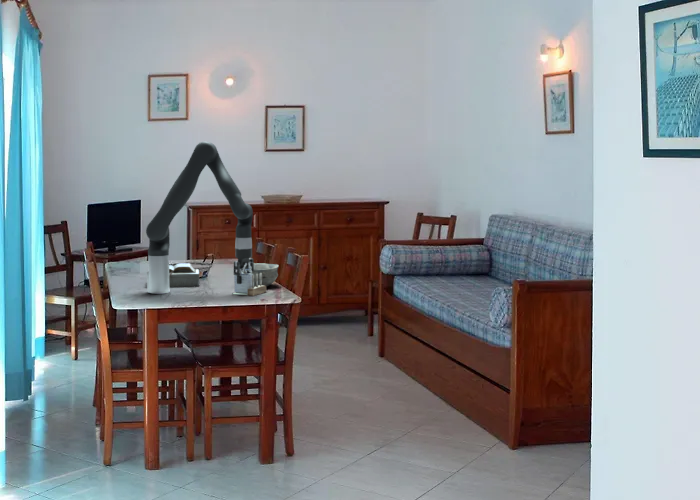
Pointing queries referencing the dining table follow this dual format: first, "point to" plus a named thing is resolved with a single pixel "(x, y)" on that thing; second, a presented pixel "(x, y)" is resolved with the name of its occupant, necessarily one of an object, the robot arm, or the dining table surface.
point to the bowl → (265, 273)
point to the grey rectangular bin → (183, 275)
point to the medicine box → (243, 283)
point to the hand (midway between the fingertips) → (243, 282)
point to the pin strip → (256, 289)
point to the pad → (240, 293)
